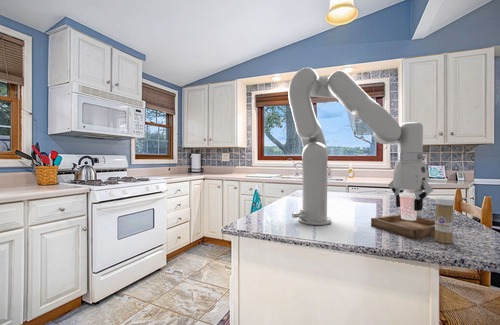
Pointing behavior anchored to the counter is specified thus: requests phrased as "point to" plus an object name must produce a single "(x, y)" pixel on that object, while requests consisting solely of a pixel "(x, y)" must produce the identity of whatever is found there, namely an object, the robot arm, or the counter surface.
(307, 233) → the counter surface
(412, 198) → the beverage cup
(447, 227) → the sprinkles bottle
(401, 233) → the walnut tray
